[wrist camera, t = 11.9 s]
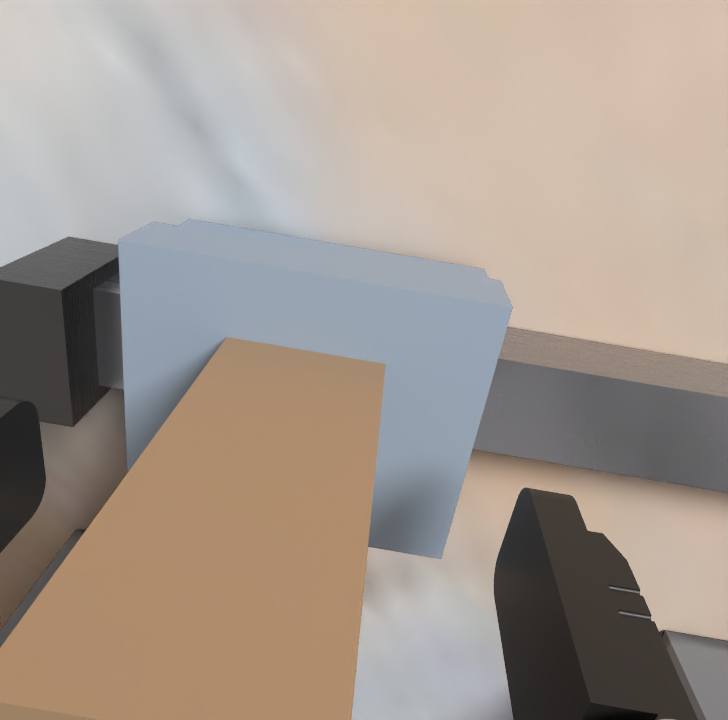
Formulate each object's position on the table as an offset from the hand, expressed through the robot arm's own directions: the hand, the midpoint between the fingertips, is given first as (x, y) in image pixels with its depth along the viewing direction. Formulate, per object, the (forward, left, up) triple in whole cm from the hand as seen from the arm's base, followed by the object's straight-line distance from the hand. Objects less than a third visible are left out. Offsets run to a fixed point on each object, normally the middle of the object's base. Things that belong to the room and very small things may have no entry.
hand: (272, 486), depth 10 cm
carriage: (0, 0, -6) cm, 6 cm away
